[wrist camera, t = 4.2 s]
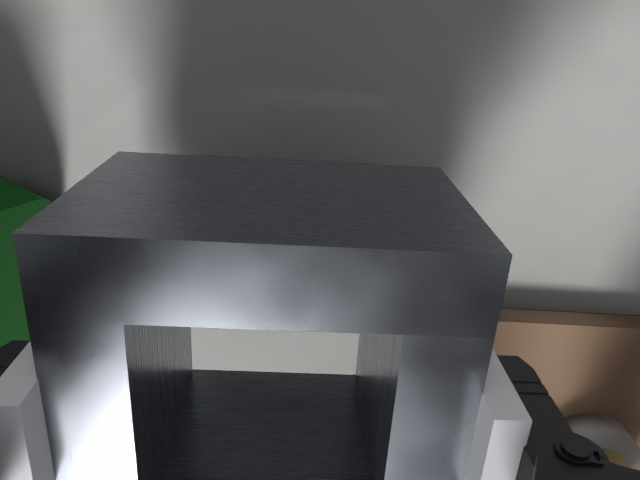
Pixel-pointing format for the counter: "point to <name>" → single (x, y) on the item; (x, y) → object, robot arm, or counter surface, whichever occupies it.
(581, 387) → the post
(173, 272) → the ring
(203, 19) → the counter surface
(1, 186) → the clamp
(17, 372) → the robot arm
